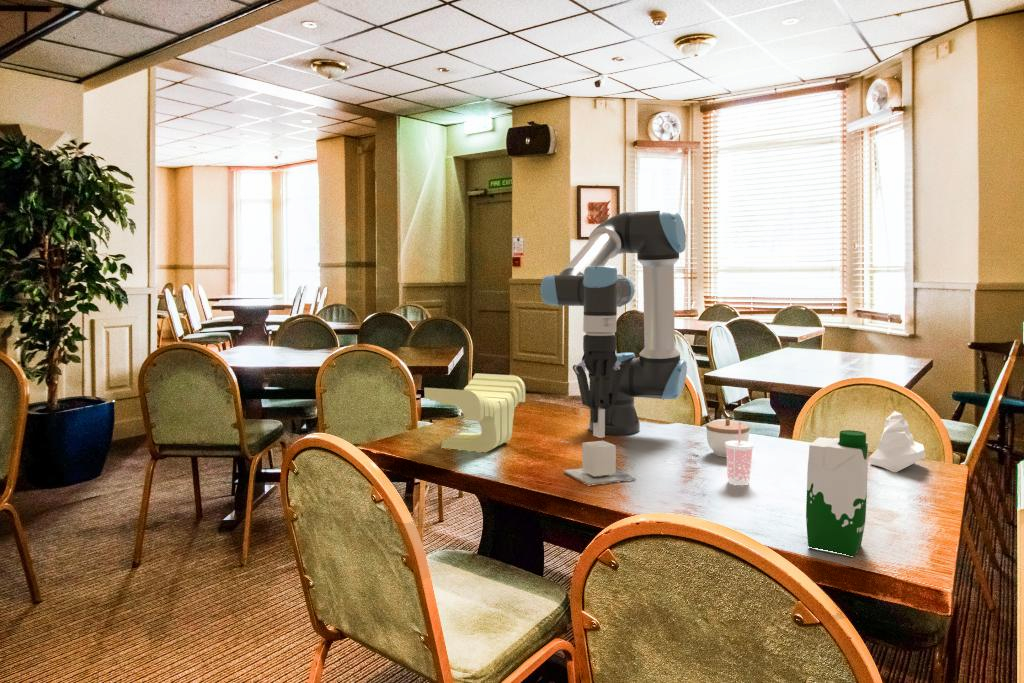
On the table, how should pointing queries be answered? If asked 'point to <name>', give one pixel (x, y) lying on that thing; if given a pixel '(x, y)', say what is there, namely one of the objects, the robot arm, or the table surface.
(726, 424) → the lidded jar
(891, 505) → the table surface
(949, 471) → the table surface
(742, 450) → the beverage cup
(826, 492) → the milk carton
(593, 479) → the square grey base plate
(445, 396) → the slatted curved stool
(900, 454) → the soft serve ice cream
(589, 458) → the cream cube
